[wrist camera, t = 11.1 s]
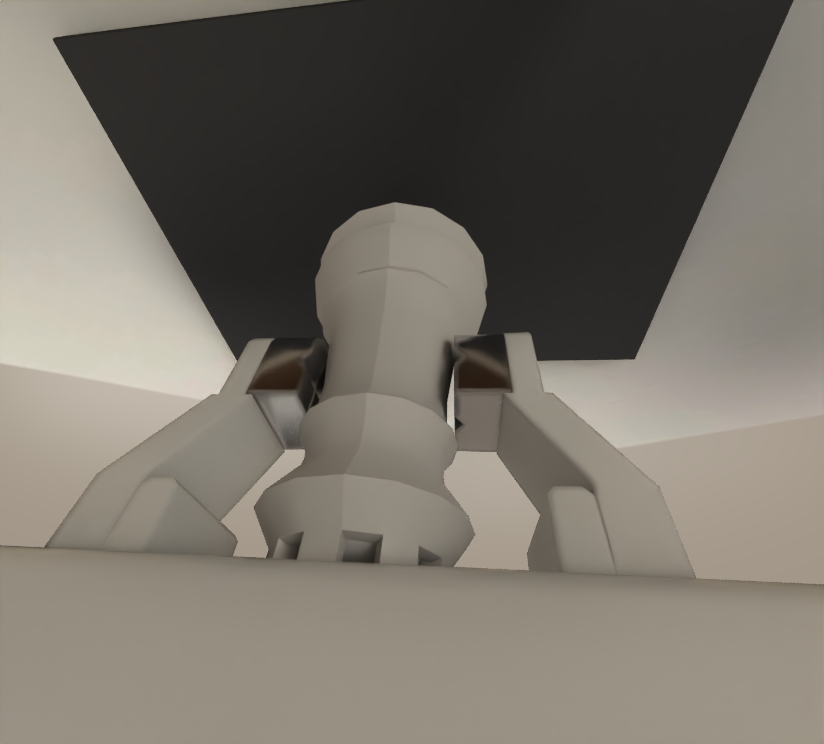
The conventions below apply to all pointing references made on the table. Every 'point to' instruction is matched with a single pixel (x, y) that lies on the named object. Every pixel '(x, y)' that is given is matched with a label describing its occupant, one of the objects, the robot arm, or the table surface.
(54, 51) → the table surface
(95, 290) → the table surface
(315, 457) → the rook chess piece
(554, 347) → the mat
